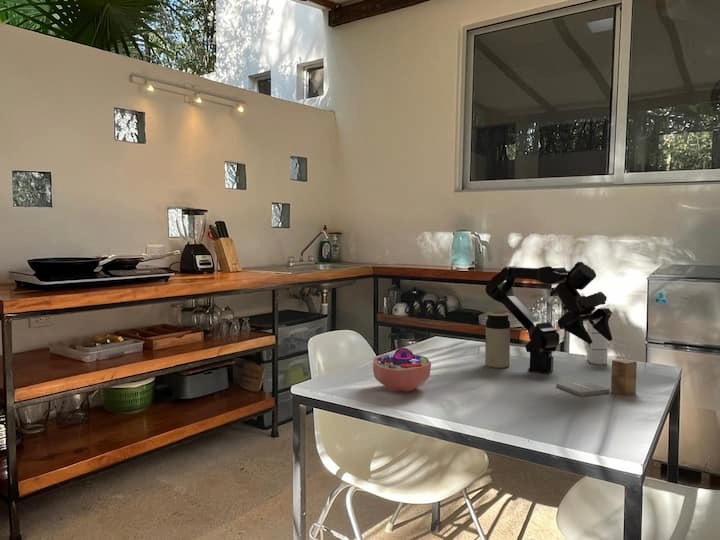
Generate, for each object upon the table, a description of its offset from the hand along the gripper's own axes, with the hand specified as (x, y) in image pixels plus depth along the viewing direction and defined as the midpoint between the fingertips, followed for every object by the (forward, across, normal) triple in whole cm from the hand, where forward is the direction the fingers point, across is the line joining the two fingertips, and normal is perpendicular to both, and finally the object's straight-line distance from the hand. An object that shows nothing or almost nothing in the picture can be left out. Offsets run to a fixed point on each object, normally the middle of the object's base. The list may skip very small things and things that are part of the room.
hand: (601, 341), depth 160 cm
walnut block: (+15, 0, +3) cm, 15 cm away
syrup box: (-4, +27, +24) cm, 36 cm away
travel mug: (-13, -7, +34) cm, 37 cm away
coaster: (+10, -8, +9) cm, 15 cm away
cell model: (-8, -52, +29) cm, 60 cm away
